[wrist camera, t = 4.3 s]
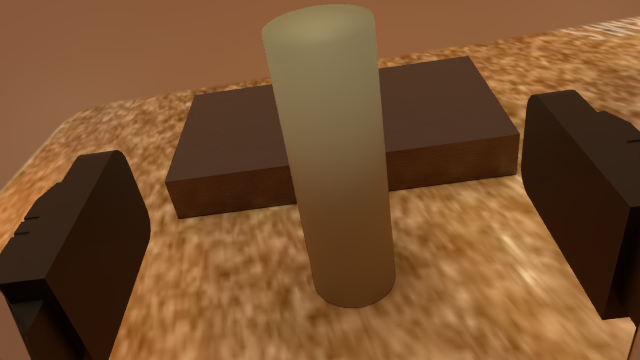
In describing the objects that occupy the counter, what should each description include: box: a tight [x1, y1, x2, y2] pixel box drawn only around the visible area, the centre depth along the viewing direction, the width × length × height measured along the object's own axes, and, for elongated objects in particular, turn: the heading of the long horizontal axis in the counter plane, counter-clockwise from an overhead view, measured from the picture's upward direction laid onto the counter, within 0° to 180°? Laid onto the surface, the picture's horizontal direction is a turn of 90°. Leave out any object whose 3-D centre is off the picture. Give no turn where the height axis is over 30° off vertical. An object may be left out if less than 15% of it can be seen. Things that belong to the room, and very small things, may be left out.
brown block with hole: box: [165, 56, 520, 219], centre depth 39 cm, size 22×12×3 cm, turn 92°
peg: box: [262, 4, 395, 308], centre depth 25 cm, size 4×4×14 cm
